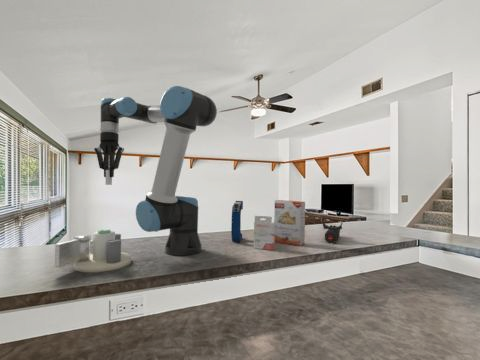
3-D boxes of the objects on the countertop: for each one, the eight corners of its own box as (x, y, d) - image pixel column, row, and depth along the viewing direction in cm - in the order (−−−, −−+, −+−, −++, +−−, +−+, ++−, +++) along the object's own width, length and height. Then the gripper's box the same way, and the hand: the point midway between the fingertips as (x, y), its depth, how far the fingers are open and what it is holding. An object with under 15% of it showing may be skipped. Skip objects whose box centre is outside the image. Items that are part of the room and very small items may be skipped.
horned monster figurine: (343, 237, 152) (344, 219, 153) (341, 245, 132) (341, 224, 132) (325, 235, 156) (326, 218, 157) (320, 243, 136) (320, 223, 136)
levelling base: (130, 255, 108) (130, 224, 108) (132, 268, 92) (132, 231, 92) (77, 259, 101) (78, 226, 101) (69, 275, 84) (70, 235, 84)
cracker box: (273, 242, 136) (274, 200, 136) (278, 240, 141) (279, 199, 141) (300, 246, 128) (300, 201, 128) (304, 244, 133) (305, 201, 133)
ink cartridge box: (274, 247, 124) (275, 215, 124) (271, 250, 119) (272, 216, 120) (256, 246, 127) (257, 214, 127) (253, 248, 123) (253, 215, 123)
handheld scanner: (243, 237, 146) (243, 200, 147) (240, 244, 130) (240, 203, 131) (234, 237, 147) (234, 200, 147) (231, 243, 131) (230, 202, 131)
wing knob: (82, 257, 97) (82, 234, 97) (94, 258, 96) (95, 235, 96) (49, 268, 85) (50, 242, 85) (63, 269, 83) (64, 243, 83)
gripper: (127, 134, 128) (126, 184, 126) (100, 135, 128) (99, 185, 127) (119, 130, 121) (118, 183, 119) (90, 131, 121) (89, 184, 119)
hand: (108, 184), depth 123 cm, fingers closed
